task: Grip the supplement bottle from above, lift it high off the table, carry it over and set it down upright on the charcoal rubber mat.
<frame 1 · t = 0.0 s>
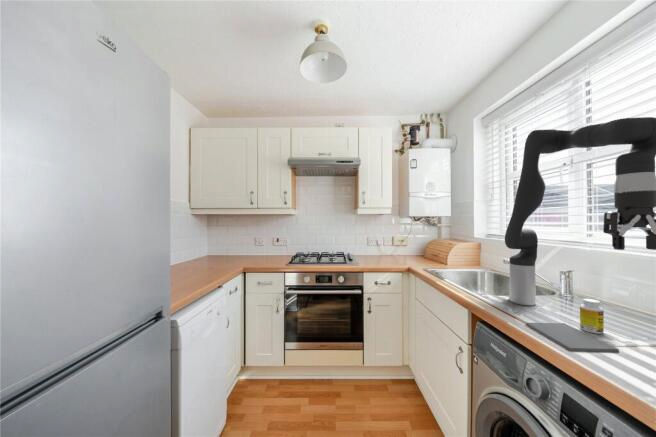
hand: (635, 249, 70), 29 cm above the countertop, tool pointing down, fingers open, 8 cm apart
mat: (566, 336, 82), on the countertop
supplement bottle: (591, 331, 86), on the countertop
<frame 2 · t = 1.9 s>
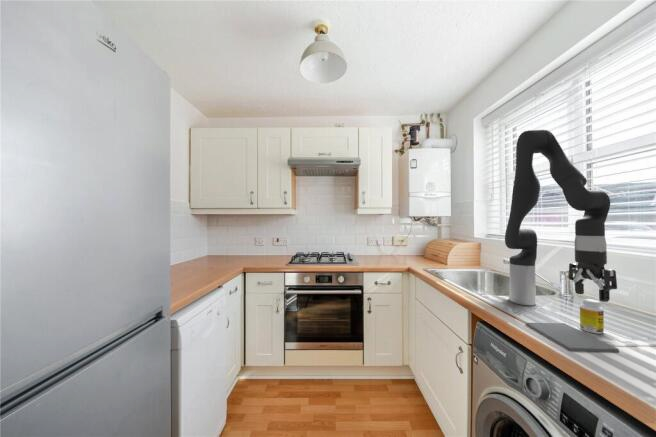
hand: (591, 297, 86), 11 cm above the countertop, tool pointing down, fingers open, 8 cm apart
nothing on the countertop moved.
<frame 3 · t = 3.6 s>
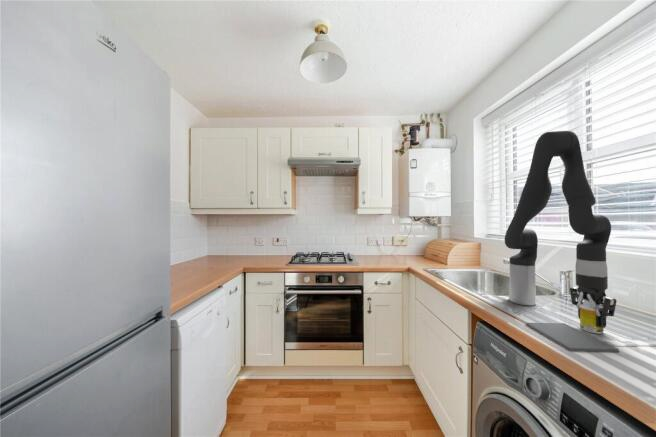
hand: (591, 323, 86), 3 cm above the countertop, tool pointing down, fingers closed on supplement bottle, 5 cm apart
supplement bottle: (591, 331, 86), on the countertop, touching gripper
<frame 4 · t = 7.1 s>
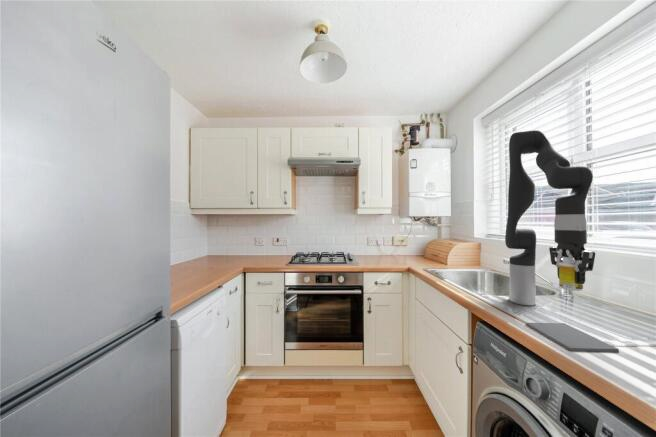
hand: (570, 281, 82), 18 cm above the countertop, tool pointing down, fingers closed on supplement bottle, 5 cm apart
supplement bottle: (570, 289, 82), point 15 cm above the countertop, touching gripper
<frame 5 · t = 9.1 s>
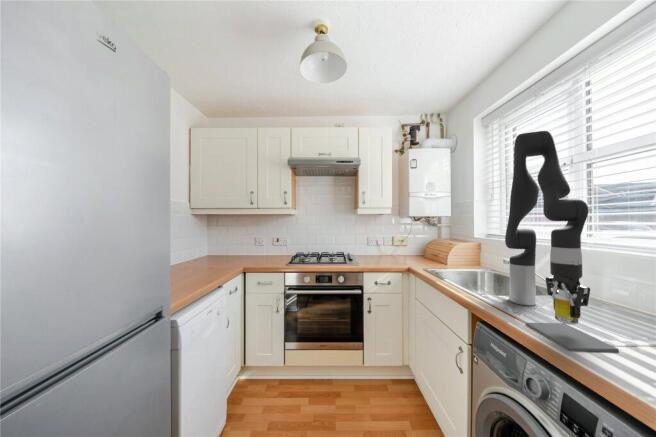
hand: (566, 313, 82), 7 cm above the countertop, tool pointing down, fingers closed on supplement bottle, 5 cm apart
supplement bottle: (566, 322, 82), point 5 cm above the countertop, touching gripper
when the fingers open (4 cm above the countertop, at t = 10.6 s): supplement bottle drops 1 cm, resting on mat.
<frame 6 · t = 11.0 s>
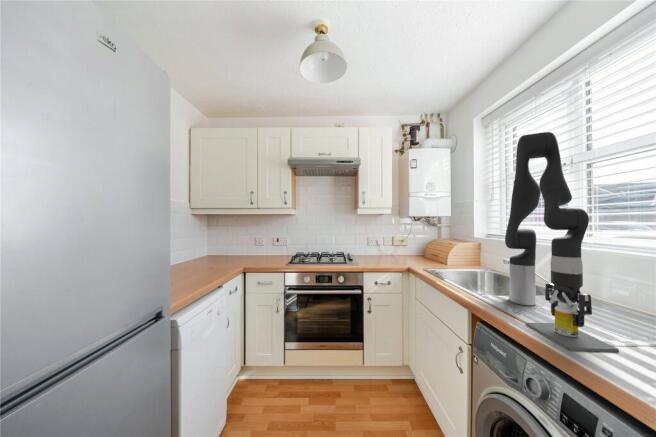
hand: (566, 320, 82), 5 cm above the countertop, tool pointing down, fingers open, 8 cm apart
supplement bottle: (566, 334, 82), point 1 cm above the countertop, touching mat
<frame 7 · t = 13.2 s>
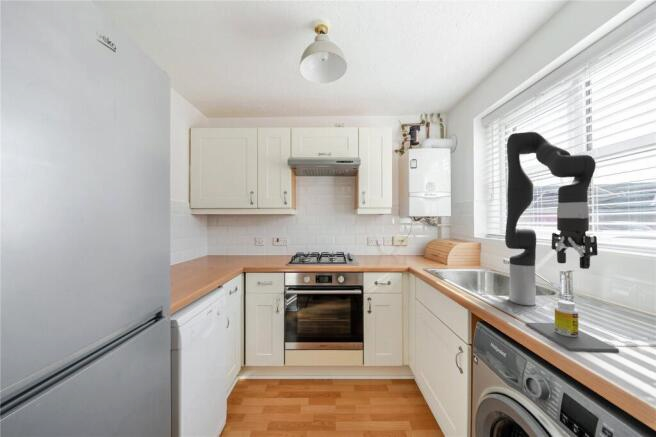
hand: (572, 265, 84), 22 cm above the countertop, tool pointing down, fingers open, 8 cm apart
nothing on the countertop moved.
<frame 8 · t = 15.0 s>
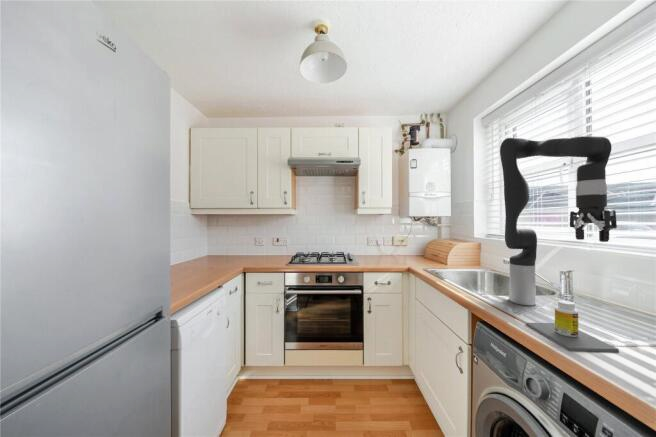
hand: (591, 240, 89), 30 cm above the countertop, tool pointing down, fingers open, 8 cm apart
nothing on the countertop moved.
at the end: supplement bottle inside the target area on the mat (0.2 cm from its centre), point 0.6 cm above the mat's base; supplement bottle tilted 0°; the gripper is holding nothing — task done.
